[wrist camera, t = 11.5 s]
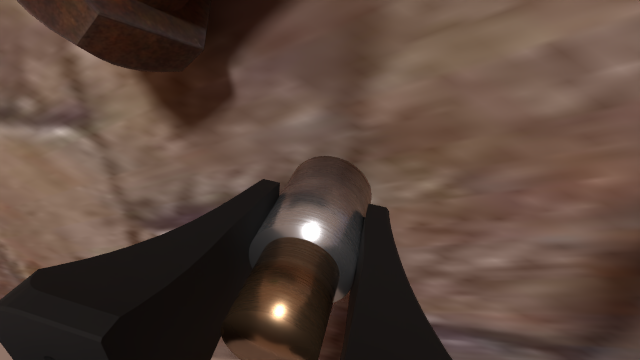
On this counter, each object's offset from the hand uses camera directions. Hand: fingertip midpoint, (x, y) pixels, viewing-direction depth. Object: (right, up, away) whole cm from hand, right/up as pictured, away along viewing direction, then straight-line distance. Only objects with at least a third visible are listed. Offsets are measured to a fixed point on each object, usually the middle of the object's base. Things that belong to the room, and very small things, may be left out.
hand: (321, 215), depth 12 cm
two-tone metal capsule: (0, +1, +1) cm, 2 cm away
